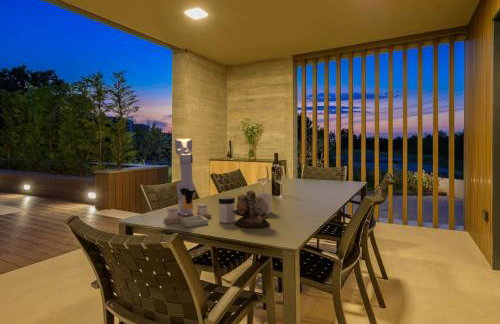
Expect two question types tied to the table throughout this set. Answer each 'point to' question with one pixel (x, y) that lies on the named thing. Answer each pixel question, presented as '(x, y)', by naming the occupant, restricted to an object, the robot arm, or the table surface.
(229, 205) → the jar
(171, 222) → the rack
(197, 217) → the tray
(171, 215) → the white fuse
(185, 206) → the block
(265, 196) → the mug
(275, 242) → the table surface
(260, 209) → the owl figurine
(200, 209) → the block
